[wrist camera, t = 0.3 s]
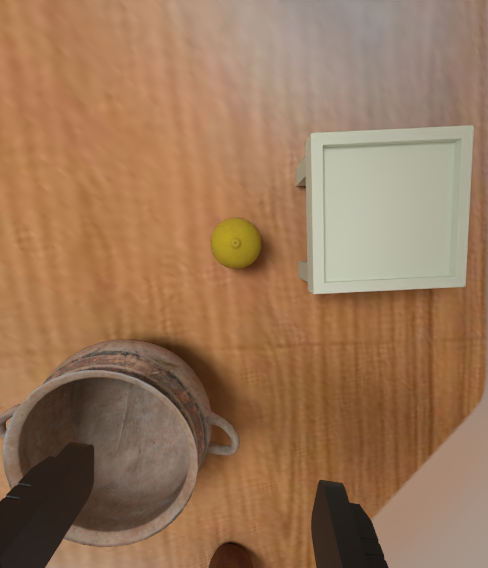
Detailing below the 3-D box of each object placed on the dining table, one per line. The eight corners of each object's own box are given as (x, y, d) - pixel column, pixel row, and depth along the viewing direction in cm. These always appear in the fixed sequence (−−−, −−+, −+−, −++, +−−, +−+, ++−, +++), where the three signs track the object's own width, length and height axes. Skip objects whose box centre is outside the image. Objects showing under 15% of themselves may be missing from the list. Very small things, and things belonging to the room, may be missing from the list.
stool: (291, 164, 35) (310, 132, 25) (408, 159, 35) (473, 125, 25) (294, 281, 36) (313, 294, 27) (405, 275, 36) (465, 286, 27)
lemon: (268, 246, 36) (275, 246, 28) (234, 275, 36) (232, 283, 28) (238, 211, 35) (238, 201, 27) (204, 241, 36) (194, 240, 28)
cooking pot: (50, 452, 39) (-36, 545, 27) (49, 316, 37) (-45, 351, 25) (234, 465, 40) (231, 562, 28) (246, 331, 37) (248, 373, 25)
